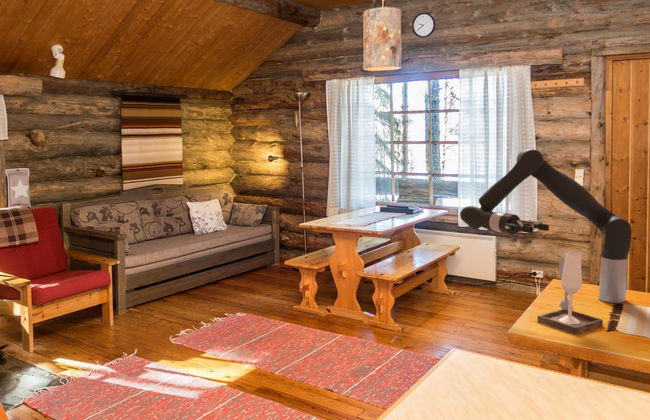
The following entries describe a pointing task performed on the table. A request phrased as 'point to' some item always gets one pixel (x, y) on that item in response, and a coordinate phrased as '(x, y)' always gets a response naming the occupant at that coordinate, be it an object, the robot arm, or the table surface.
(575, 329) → the tray
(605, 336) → the table surface
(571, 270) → the champagne flute
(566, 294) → the chalice
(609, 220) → the robot arm
